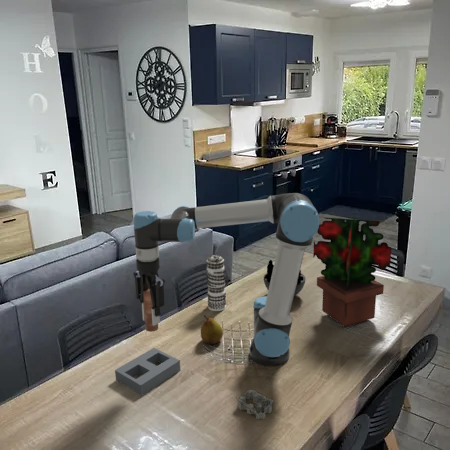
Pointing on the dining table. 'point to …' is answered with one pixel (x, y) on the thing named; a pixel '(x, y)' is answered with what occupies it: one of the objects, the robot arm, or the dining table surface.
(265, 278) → the bowl of black rocks
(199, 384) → the dining table surface
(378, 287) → the potted plant
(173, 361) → the socket block
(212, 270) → the decorative candle
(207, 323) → the fruit
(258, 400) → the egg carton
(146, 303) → the peg
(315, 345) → the dining table surface
